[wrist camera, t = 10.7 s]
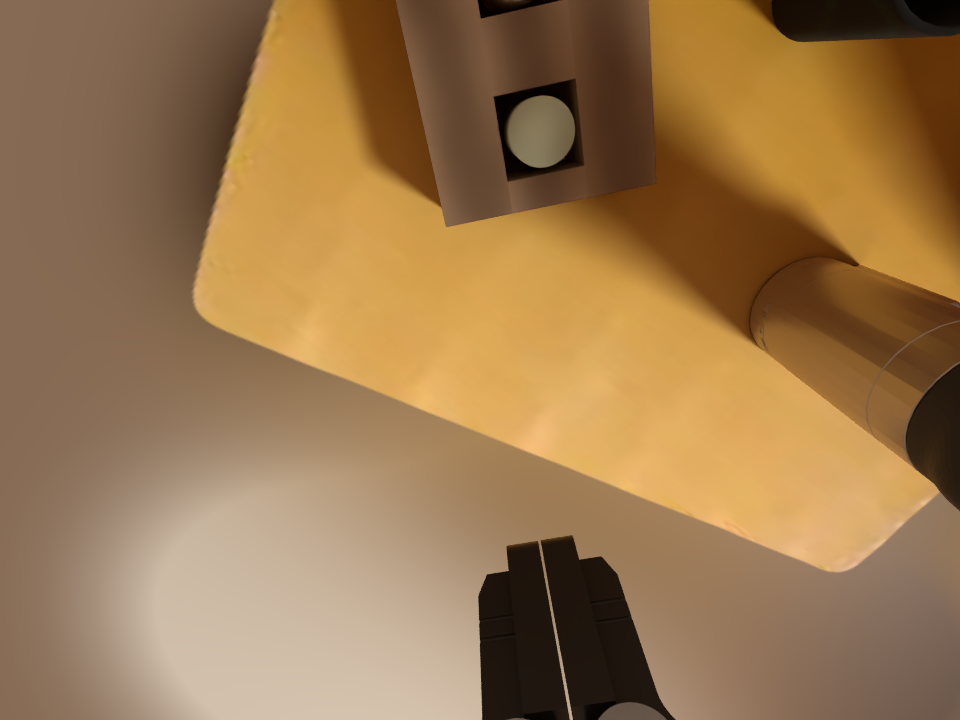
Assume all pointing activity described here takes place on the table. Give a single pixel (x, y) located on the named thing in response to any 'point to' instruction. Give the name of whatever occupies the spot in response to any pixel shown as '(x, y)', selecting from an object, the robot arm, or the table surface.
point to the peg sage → (538, 130)
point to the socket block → (525, 66)
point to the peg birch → (506, 5)
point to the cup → (865, 19)
